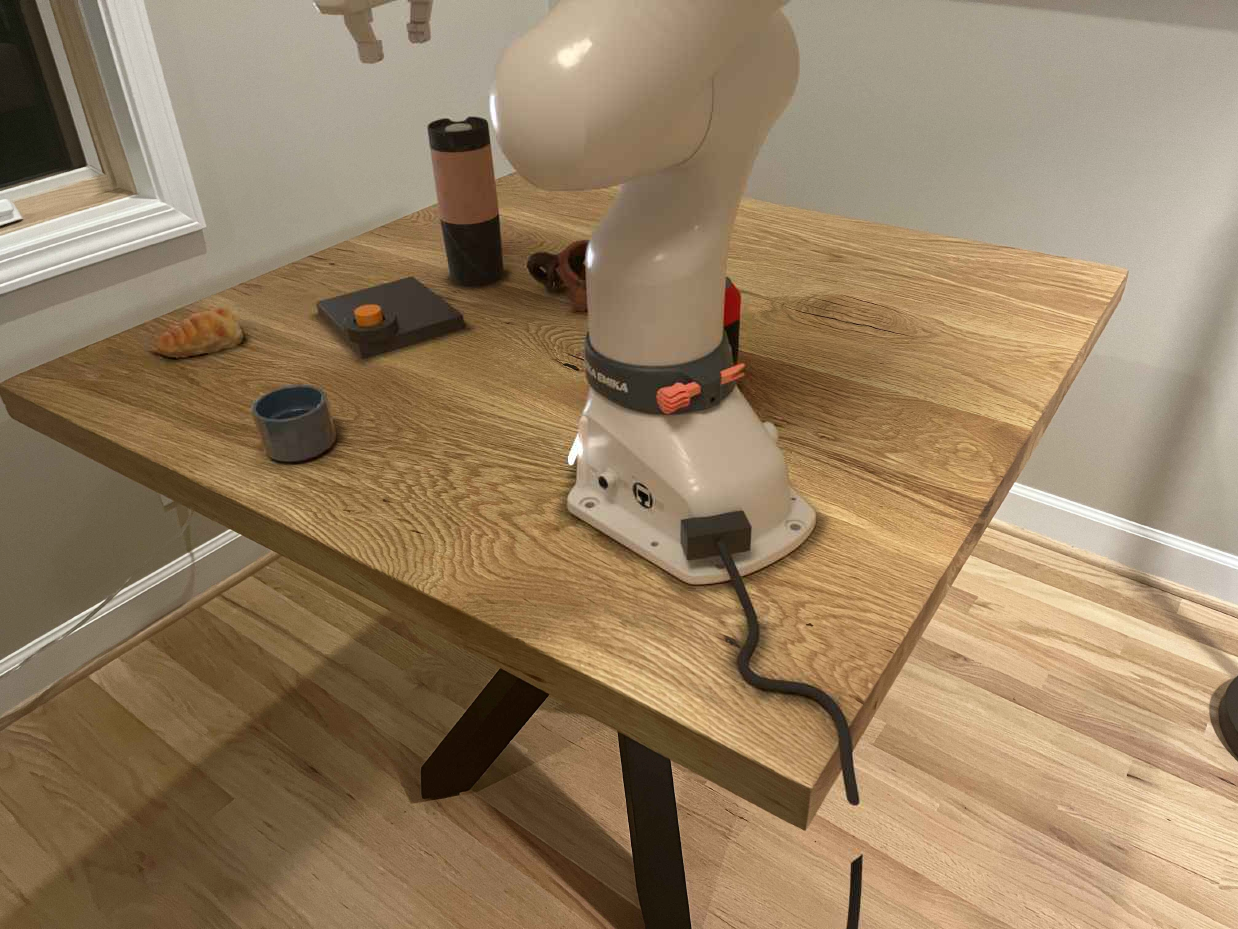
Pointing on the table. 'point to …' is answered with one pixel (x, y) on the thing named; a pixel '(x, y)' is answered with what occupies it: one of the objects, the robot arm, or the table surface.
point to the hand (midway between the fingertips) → (397, 51)
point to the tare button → (368, 315)
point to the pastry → (200, 334)
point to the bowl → (294, 423)
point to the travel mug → (467, 200)
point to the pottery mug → (562, 271)
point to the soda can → (732, 317)
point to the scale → (391, 317)
